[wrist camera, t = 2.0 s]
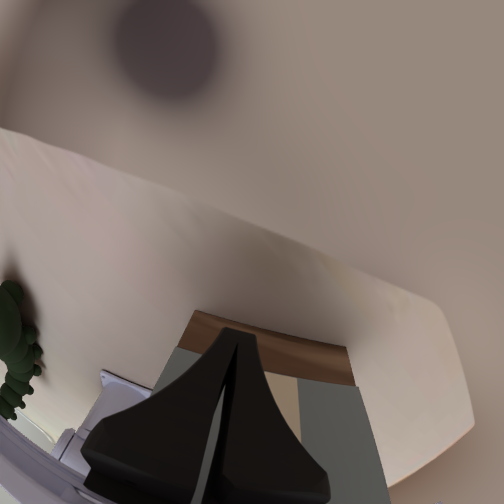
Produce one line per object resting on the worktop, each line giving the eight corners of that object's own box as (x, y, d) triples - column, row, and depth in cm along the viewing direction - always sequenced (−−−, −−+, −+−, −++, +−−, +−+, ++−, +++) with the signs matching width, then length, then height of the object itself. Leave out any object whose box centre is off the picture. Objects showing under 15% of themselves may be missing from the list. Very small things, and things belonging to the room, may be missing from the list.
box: (300, 417, 27) (300, 450, 23) (182, 390, 27) (170, 423, 23) (346, 347, 23) (355, 385, 18) (195, 310, 23) (177, 345, 18)
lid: (388, 525, 7) (396, 521, 6) (104, 494, 7) (102, 489, 6) (354, 391, 18) (359, 385, 18) (175, 352, 18) (176, 345, 18)
